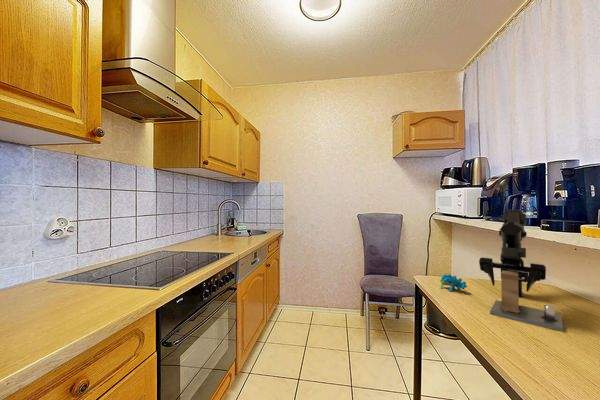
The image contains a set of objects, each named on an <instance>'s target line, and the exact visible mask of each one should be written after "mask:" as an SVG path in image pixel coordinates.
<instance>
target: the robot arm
mask: <svg viewBox="0 0 600 400" xmlns="http://www.w3.org/2000/svg"><path fill="white" fill-rule="evenodd" d="M502 222H503V224H502V226H501V227H500V228H499V230H498V234H499V236H500V237H501V242H502V245H501V254H500V258H499V259H500V262H494V261H493V258H490V257H484V256H483V257H480V258H479V261H478V264H479V269H480V271H482V272H484V273H485V274H487V275H488V277H489V279H490V282H491V283H492V286H493V287H494V286H495V283H496V282H495V274H494V269H500V273H501V272H502V270H503V271H510V272H517V273H518V292H519V298H520V297H521V298H523V297H524V294H525V293H524V292H523V283H526V290H525V291H526V292H529V291H530V290H531V288H532V286H533V285H534V284H535V283H536V282H541V281H544V280H546V275H547V270H546V269H547V266H546V265H545V264H542V263H541V264H540V263H533V262H530V266H525V262H524V260H523V258H525V259H526V257H527V248H526V247H522V241H523V239H526V237H527V235H528V234H527V232H526V230H525V225H527V214H526V213H524V212H522V210H520V209H507V210H506V212H504V213H502Z"/></svg>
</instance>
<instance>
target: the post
mask: <svg viewBox="0 0 600 400" xmlns="http://www.w3.org/2000/svg"><path fill="white" fill-rule="evenodd" d="M500 279H501V280H500V281H501V283H500V284H501V293H500V294H501V301H502V310H506V311H510V312H515V313H518V311H519V305H520V304H519V303H520V302H519V301H520V300H519V298H520V297H519V292H518V273H517V272H510V271H503V270H502V272H501V271H500Z"/></svg>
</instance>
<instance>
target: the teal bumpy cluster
mask: <svg viewBox="0 0 600 400" xmlns="http://www.w3.org/2000/svg"><path fill="white" fill-rule="evenodd" d="M439 282H440V284H441V285H440V289H443V287H444V286H449V292H453V289H455V288H456V289H457V290H461V289H462V290H465V288H467V287H468V285H467V282H466V281H463V278H461V277H458V278H457V275H451V274H450V273H448V274H445V273H444V274H443V275H441V277H440V279H439Z"/></svg>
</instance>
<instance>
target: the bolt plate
mask: <svg viewBox="0 0 600 400" xmlns="http://www.w3.org/2000/svg"><path fill="white" fill-rule="evenodd" d="M491 306H492V307H491V308H490V311H489V314H490V315H492V316H496V317H500V318H506V319H509V320H513V321H516V322H517V321H518V322H521V323H526V324H530V325H534V326H538V327H541V328H546V329H550V330H554V331H558V332H563V333H564V324H563V318H562V317H563V315H562V313H558V312H556V307H555V306H554V305H551V304H550V305H549V304H544V305H543V309H540V308H535V307H530V306H525V305H520V304H519V311H518V313H515V312H510V311H506V310H502V300H497V299H496V300H495V301H494V303H493V305H491Z"/></svg>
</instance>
